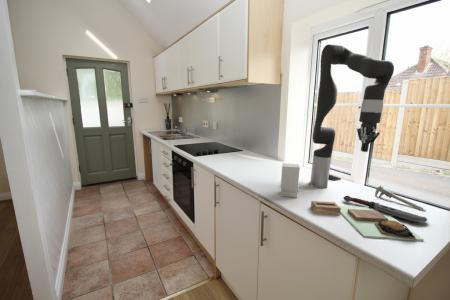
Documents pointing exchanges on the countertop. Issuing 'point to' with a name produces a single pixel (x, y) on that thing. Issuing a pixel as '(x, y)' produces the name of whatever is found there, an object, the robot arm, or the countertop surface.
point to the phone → (333, 178)
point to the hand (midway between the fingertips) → (364, 151)
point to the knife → (387, 210)
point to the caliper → (396, 197)
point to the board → (367, 215)
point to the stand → (325, 207)
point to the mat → (371, 225)
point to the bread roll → (394, 229)
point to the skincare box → (289, 180)
